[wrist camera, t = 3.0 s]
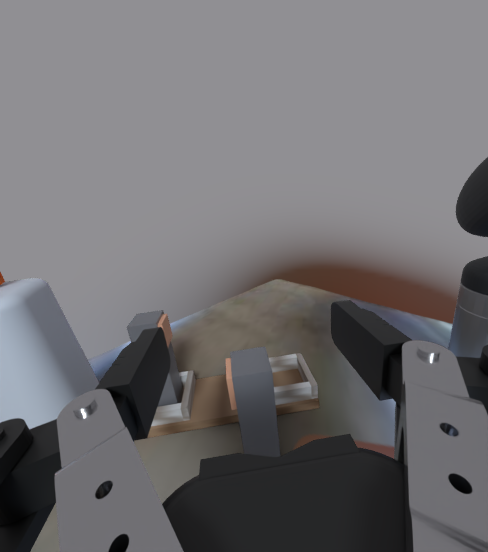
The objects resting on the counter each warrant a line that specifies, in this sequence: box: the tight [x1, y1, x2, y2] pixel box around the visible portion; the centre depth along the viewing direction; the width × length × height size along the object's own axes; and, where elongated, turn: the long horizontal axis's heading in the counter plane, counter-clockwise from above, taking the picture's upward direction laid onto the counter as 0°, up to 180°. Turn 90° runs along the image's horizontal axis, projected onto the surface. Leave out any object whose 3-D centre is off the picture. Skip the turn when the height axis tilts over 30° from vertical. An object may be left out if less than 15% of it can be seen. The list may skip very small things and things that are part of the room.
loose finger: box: [226, 347, 280, 457], centre depth 27 cm, size 5×4×16 cm
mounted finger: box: [127, 310, 183, 407], centre depth 36 cm, size 5×4×16 cm
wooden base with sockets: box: [147, 353, 319, 438], centre depth 39 cm, size 28×9×4 cm, turn 95°
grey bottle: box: [0, 272, 99, 429], centre depth 31 cm, size 15×15×28 cm
